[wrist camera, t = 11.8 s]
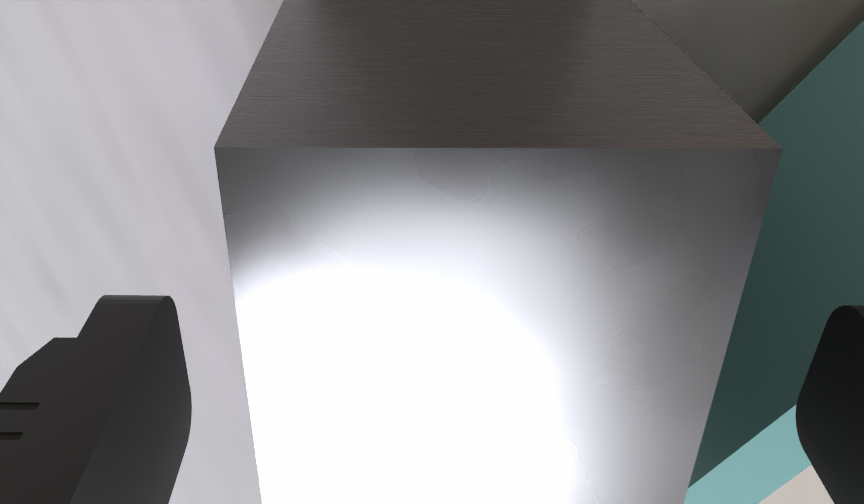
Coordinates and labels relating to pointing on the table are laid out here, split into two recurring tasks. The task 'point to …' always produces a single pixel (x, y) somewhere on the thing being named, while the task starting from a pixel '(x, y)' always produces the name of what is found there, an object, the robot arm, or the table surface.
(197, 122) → the table surface
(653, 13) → the table surface
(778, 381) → the door
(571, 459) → the block
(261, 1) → the table surface
